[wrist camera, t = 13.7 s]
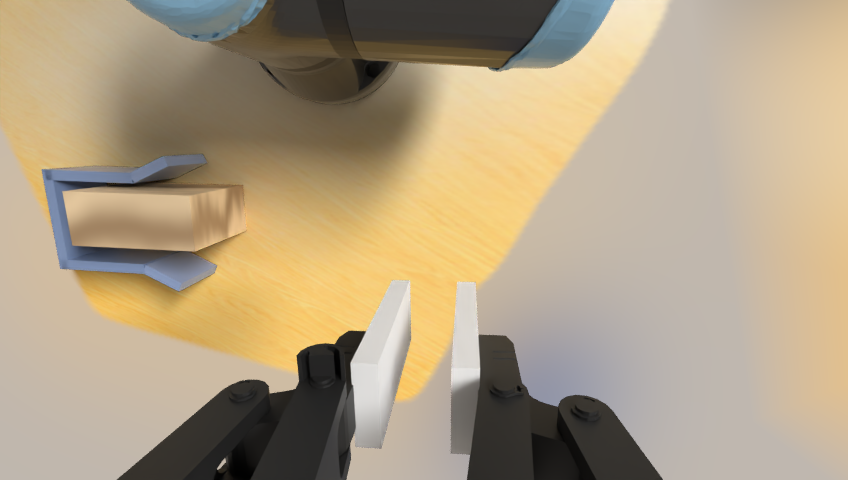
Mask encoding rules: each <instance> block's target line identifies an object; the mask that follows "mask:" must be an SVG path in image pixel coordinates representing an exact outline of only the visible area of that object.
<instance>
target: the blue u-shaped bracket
mask: <svg viewBox="0 0 848 480" xmlns="http://www.w3.org/2000/svg"><path fill="white" fill-rule="evenodd" d="M206 163H207V161H206V159H205V157H204V155H203V154H193V155H174V156H162V157H160V158H158V159H156V160H154V161H152V162H150V163H148V164H146V165H144V166H142V167H116V166H85V167H70V168H56V169H42V174H43V179H44V185H45V190H46V195H47V201H48V206H49V211H50V216H51V222H52V227H53V232H54V238H55V243H56V247H57V253H58V259H59V264H60V269H72V270H89V271H105V272H121V273H138V274H145V275H147V276H149V277H151V278H153V279H155V280H157V281H159V282H161V283H163V284H165V285H167V286H169V287H171V288H173V289H175V290H177V291H181V290H183V289H185V288H187V287H189V286H191V285H192V284H194V283H196V282H198V281H200V280H202V279H204V278H206V277H208V276H210V275H212V274H213V273H215V270H216V267H217V265H215V264H213V263H211V262H209V261H207V260H205V259H203V258H201V257H199V256H197V255H195V254H193V253H191V252H189V251H173V250H153V249H132V248H112V247H91V246H72V241H71V236H70V230H69V225H68V219H67V214H66V208H65V203H64V198H63V192H62V191H69V190H77V189H85V188H93V187H101V186H107V182H109V183H140V182H148V181H156V180H163V179H171V178H177V177H179V176H181V175H183V174H185V173H188V172H190V171H192V170H194V169H196V168H198V167H200V166H202V165H204V164H206Z"/></svg>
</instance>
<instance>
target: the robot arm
mask: <svg viewBox="0 0 848 480" xmlns="http://www.w3.org/2000/svg"><path fill="white" fill-rule="evenodd" d="M127 1H128V2H129V3H131V4H132V5H133V6H134V7H136V8H137V9H138V10H140V11H141V12H143V13H144V14H146V15H147V16H149V17H151V18H153V19H155V20H157V21H159V22H161V23H163V24H164V25H166V26H168V27H169V28H170V29H171V30H173V31H175V32H177V33H178V34H179V35H181V36H183V37H188V38H190V39H192V40H195V41H202V42H208V43H211V44H213V45H216V46H219V47H222V48H224V49H227V50H230V51H232V52H235V53H238V54H240V55H243V56H246V57H248V58H251V59H254V60H256V61H259V63H260V64H261V66H262V67H263V69H264V70H265V71H266V72H267V73H268V75H269V76H270V77H271V78H272V79H273V80H274V81H275V82H277V83H278V84H279V85H280V86H282V87H283V88H284V89H286V90H287V91H289V92H291V93H292V94H294V95H297V96H299V97H301V98H304V99H307V100H310V101H314V102H319V103H324V104H344V103H349V102H353V101H356V100H359V99H361V98H363V97H365V96H367V95H369V94H370V93H372V92H373V91H375V90H376V89H377V88H379V87H380V86H381V85H382V84H383V83H384V82H385V81H386V80H387V79H388V78H389V76H390V75H391V74H392V72H393V71H394V69H395V68H396V66H397V64H398V62H406V63H424V64H442V65H460V66H477V67H488V68H489V69H490V70H492V71H497V72H500V71H503V70H509V69H511V68H551V67H554V66H557V65H559V64H562V63H564V62H565V61H568V60H570V59H571V58H573V57H574V56H575V55H576V54H577V53H578V52H580V51H581V50H582V49H583V48H584V47H585V45H586V44H587V43H588V42H589V41H590V39H591V38H592V37H593V35H594V34H595V33H596V31H597V30H598V28H599V27H600V25H601V23H602V22H603V20H604V19H605V17H606V15H607V13H608V12H609V10H610V8H611V6H612V4H613V2H614V0H127ZM410 341H411V307H410V281H408V280H392V282H391V284H390V286H389V288H388V290H387V292H386V294H385V296H384V298H383V300H382V302H381V304H380V305H379V307H378V309H377V311H376V313H375V315H374V317H373V319H372V321H371V323H370V325H369V327H368V329H367V331H348V332H346V333H345V334H343V335H342V336H340V337H339V338H338V340H337V342H336V343H335V344H326V343H325V344H316V345H313V346H310V347H307V348H305V349H303V350H302V351H300V352H299V353H298V355H297V364H298V374H299V383H298V385H297V387H296V389H294V390H289V391H284V392H277V393H271V394H269V386H268V385H267V384H266V383H265V382H263V381H260V380H245V381H239V382H237V383H235V384H232V385H230V386H228V387H227V388H225V389H224V390H222V391H221V392H220V393H219V394H217V395H216V396H215V397H214V398H213V399H212V400H210V401H209V402H208V403H207V404H206V405H205V406H203V407H202V408H201V409H200V410H199V411H197V412H196V413H195V414H194V415H193V416H191V417H190V418H189V419H188V420H187V421H186V422H184V423H183V424H182V425H181V426H180V427H179V428H177V429H176V430H175V431H174V432H173V433H171V434H170V435H169V436H168V437H167V438H165V439H164V440H163V441H162V442H161V443H160V444H158V445H157V446H156V447H155V448H154V449H153V450H151V451H150V452H149V453H148V454H147V455H145V456H144V457H143V458H142V459H141V460H140V461H139V462H137V463H136V464H135V465H134V466H132V467H131V468H130V469H129V470H128V471H127V472H126V473H124V474H123V475H122V476H121V477H119V478H118V479H117V480H346V479H347V474H348V469H349V465H350V461H351V452H350V442H351V440H352V437H353V434H354V432H355V446H356V447H364V448H379V449H381V448H382V444H383V441H384V437H385V433H386V430H387V426H388V421H389V418H390V414H391V411H392V407H393V404H394V400H395V396H396V393H397V389H398V385H399V382H400V378H401V374H402V371H403V367H404V363H405V360H406V356H407V352H408V349H409V345H410ZM452 354H453V355H452V368H451V370H452V371H451V374H452V375H451V453H453V454H469V455H470V461H469V469H468V476H467V480H663V479H662V478H661V477H660V475H659V474H658V472H657V471H656V470H655V468H654V467H653V466H652V464H651V463H650V461H649V460H648V459H647V457H646V456H645V454H644V453H643V452H642V451H641V449H640V448H639V446H638V445H637V444H636V442H635V441H634V439H633V438H632V437H631V435H630V434H629V433H628V431H627V430H626V429H625V427H624V426H623V425H622V423H621V422H620V420H619V419H618V418H617V416H616V415H615V414H614V412H613V411H612V410H611V409H610V408H609V407H608V406H607V405H606V404H605V403H603V402H601V401H599V400H597V399H595V398H592V397H588V396H582V395H573V396H568V397H565V398H564V399H562V400H561V401H560V403H559V406H558V407H556V406H553V405H549V404H545V403H543V402H540V401H538V400H536V399H534V398H532V397H531V396H530V395H529V393H528V390H527V388H526V387H525V386H524V385H523V384H522V381H521V377H520V373H519V367H518V363H517V359H516V354H515V349H514V344H513V343H512V342H511V341H510V340H509V339H508V338H507V337H506V336H497V335H478V319H477V302H476V282H457V294H456V309H455V323H454V338H453V353H452ZM224 458H225V459H226V463H225V464H224V465H223V466H222V467H221V468H220V469H219V470H217V468H218V466H219V465H220V463H221V462H222V460H223V459H224Z"/></svg>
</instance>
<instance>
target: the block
mask: <svg viewBox="0 0 848 480" xmlns="http://www.w3.org/2000/svg"><path fill="white" fill-rule="evenodd" d="M62 192H63V198H64V203H65V208H66V214H67V219H68V225H69V230H70V236H71V241H72V246H91V247H112V248H132V249H153V250H173V251H194V252H195V251H198V250H200V249H203V248H205V247H208V246H210V245H213V244H215V243H217V242H220V241H222V240H225V239H227V238H230V237H232V236H235V235H237V234H240V233H242V232H244V231H247V230H246V218H245V205H244V193H243V185H223V184H192V183H161V182H140V183H125V184H117V185H109V186H101V187H93V188H85V189H77V190H69V191H62Z"/></svg>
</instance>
